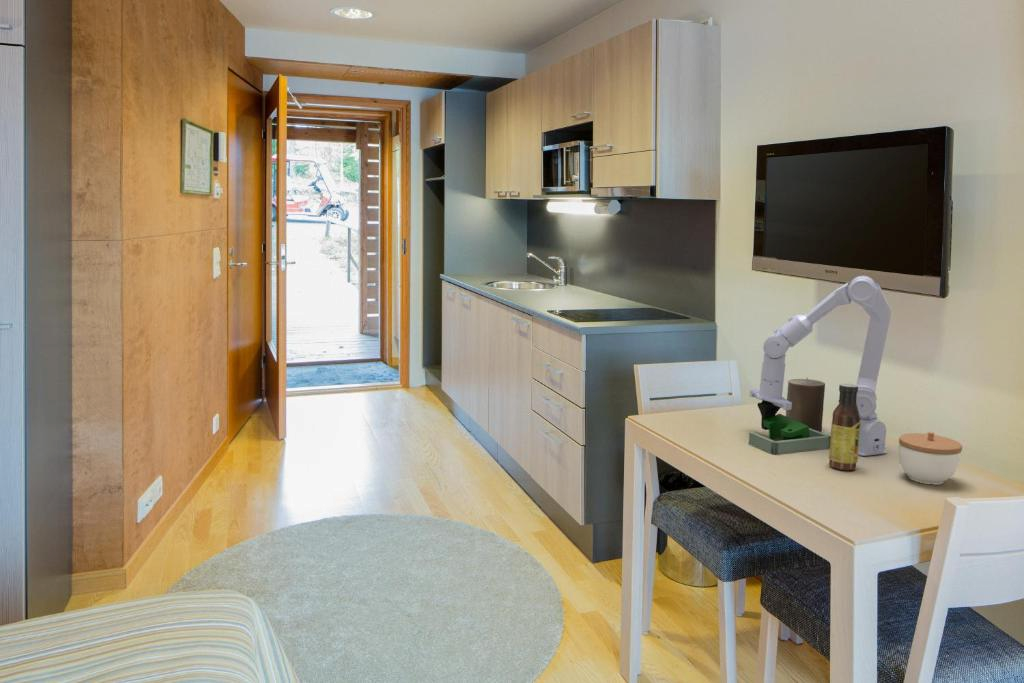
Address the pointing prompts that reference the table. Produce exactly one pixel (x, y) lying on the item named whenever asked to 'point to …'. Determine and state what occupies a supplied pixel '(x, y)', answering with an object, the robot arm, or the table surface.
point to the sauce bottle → (845, 430)
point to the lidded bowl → (929, 457)
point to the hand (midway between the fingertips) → (766, 429)
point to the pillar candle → (806, 402)
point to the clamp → (785, 428)
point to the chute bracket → (791, 443)
